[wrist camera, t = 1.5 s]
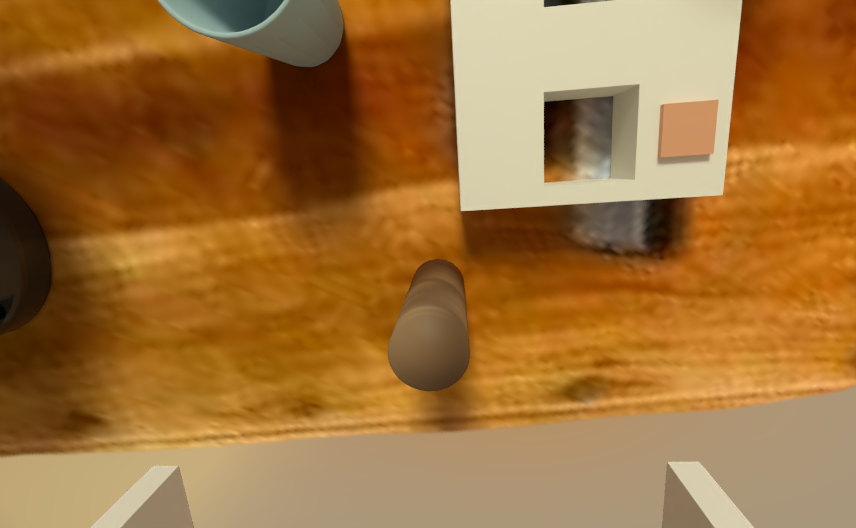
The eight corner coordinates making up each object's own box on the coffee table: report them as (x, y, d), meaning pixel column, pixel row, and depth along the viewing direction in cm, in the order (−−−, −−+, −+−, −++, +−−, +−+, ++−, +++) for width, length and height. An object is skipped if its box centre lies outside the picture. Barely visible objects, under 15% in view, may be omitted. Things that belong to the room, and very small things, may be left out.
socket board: (460, 205, 29) (460, 211, 25) (446, -79, 25) (444, -128, 21) (685, 191, 28) (726, 195, 24) (709, -110, 24) (764, -170, 20)
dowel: (414, 309, 32) (391, 392, 20) (410, 260, 31) (384, 317, 19) (465, 307, 31) (471, 389, 20) (462, 257, 30) (467, 313, 19)
